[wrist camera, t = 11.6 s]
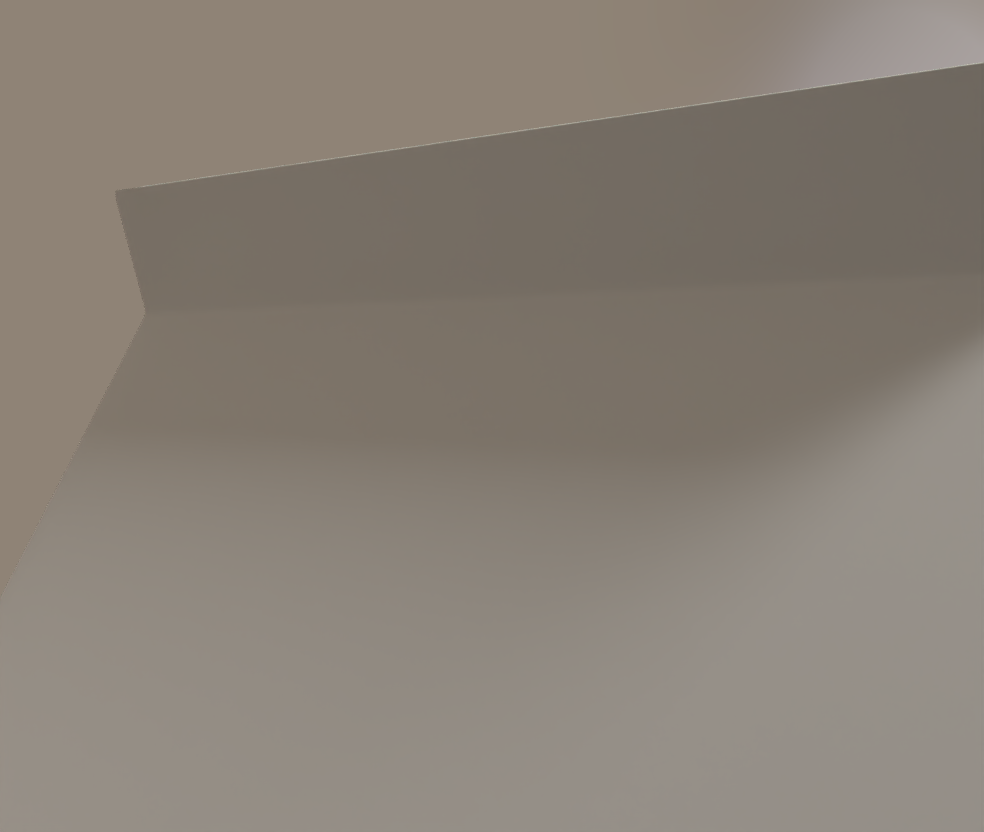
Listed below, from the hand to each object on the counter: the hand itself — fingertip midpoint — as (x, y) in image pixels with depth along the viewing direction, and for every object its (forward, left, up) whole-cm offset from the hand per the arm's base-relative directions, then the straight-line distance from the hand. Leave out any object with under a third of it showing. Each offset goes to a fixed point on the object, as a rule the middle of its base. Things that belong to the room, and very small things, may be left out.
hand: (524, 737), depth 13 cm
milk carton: (+2, +4, -11) cm, 12 cm away
